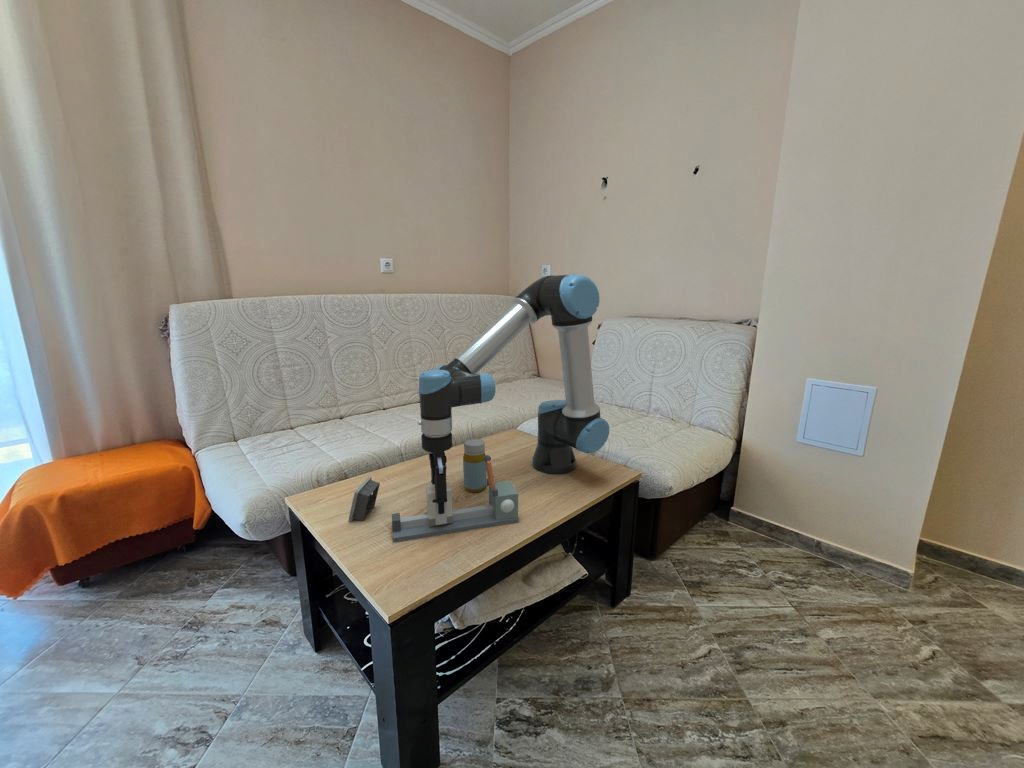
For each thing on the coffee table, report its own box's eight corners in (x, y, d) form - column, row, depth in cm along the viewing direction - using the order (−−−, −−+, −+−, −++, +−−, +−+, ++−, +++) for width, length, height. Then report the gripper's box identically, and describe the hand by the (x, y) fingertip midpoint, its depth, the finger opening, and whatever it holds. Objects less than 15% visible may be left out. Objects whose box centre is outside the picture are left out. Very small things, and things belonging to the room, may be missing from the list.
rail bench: (509, 505, 119) (509, 474, 117) (518, 522, 110) (518, 488, 108) (392, 523, 110) (390, 489, 108) (393, 542, 101) (390, 506, 99)
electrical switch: (362, 504, 119) (363, 474, 117) (380, 506, 119) (381, 477, 117) (347, 522, 110) (348, 490, 108) (367, 525, 110) (367, 493, 108)
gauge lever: (493, 482, 113) (488, 451, 111) (497, 489, 109) (492, 457, 107) (486, 484, 113) (481, 453, 110) (490, 491, 109) (485, 459, 106)
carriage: (450, 513, 112) (448, 482, 110) (452, 522, 107) (451, 490, 105) (427, 516, 110) (425, 485, 108) (429, 526, 105) (427, 494, 103)
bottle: (483, 494, 125) (482, 447, 122) (460, 492, 127) (459, 445, 123) (488, 483, 132) (488, 439, 129) (467, 481, 133) (466, 437, 130)
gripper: (418, 423, 111) (422, 502, 116) (424, 447, 94) (428, 539, 99) (446, 420, 113) (449, 499, 118) (457, 443, 96) (460, 534, 101)
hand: (439, 517), depth 108 cm, fingers closed on carriage, 5 cm apart
